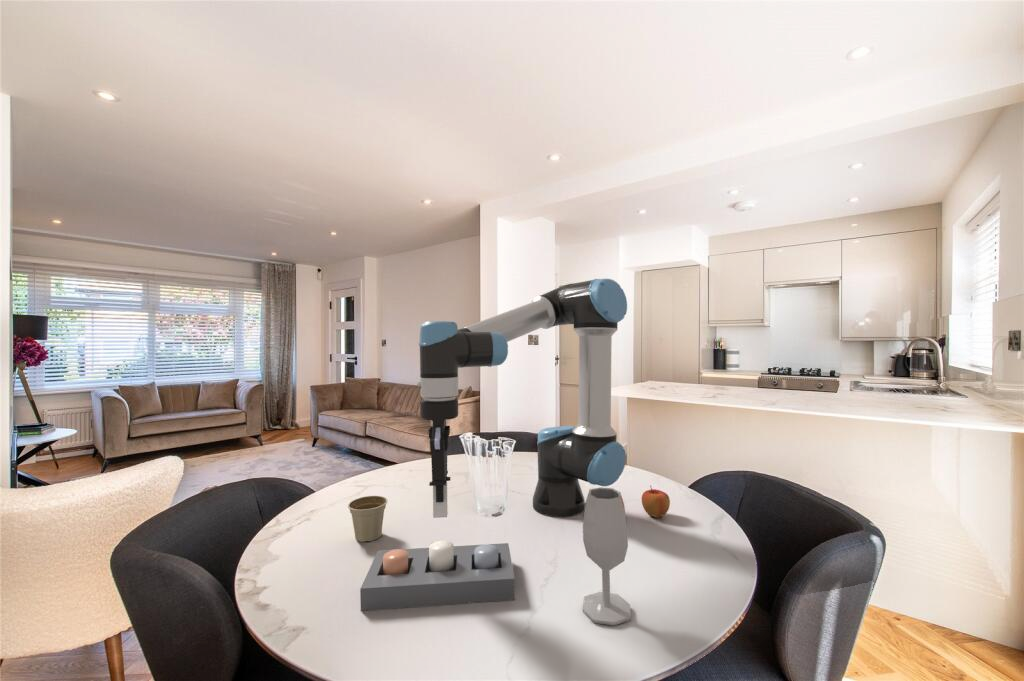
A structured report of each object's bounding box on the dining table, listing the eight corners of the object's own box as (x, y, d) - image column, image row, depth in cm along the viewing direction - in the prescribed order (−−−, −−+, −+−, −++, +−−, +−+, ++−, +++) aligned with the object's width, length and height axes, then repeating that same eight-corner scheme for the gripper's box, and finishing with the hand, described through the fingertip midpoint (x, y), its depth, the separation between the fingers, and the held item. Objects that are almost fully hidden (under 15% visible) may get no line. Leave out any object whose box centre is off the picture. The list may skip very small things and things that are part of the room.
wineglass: (576, 597, 79) (574, 485, 79) (621, 594, 80) (620, 483, 80) (589, 629, 70) (587, 503, 70) (639, 625, 71) (637, 501, 71)
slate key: (497, 562, 88) (497, 543, 88) (499, 575, 83) (498, 555, 83) (474, 564, 87) (474, 545, 87) (474, 577, 82) (474, 556, 82)
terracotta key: (410, 568, 86) (409, 548, 86) (406, 581, 81) (405, 560, 81) (386, 569, 86) (385, 550, 86) (380, 583, 81) (380, 562, 81)
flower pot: (375, 547, 100) (375, 510, 100) (340, 544, 102) (339, 508, 102) (394, 530, 109) (394, 496, 109) (361, 527, 111) (361, 494, 111)
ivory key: (454, 559, 87) (453, 539, 87) (453, 571, 82) (452, 551, 82) (430, 560, 86) (430, 541, 86) (428, 573, 82) (427, 552, 82)
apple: (661, 524, 110) (660, 493, 110) (636, 516, 115) (636, 486, 115) (675, 516, 115) (674, 487, 115) (650, 508, 120) (650, 480, 120)
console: (508, 561, 92) (508, 543, 92) (514, 600, 78) (514, 578, 78) (378, 569, 90) (378, 550, 90) (360, 610, 76) (360, 588, 76)
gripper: (424, 394, 91) (425, 504, 90) (415, 403, 78) (417, 531, 77) (459, 394, 91) (460, 502, 91) (456, 402, 78) (458, 529, 78)
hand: (440, 515), depth 84 cm, fingers closed
